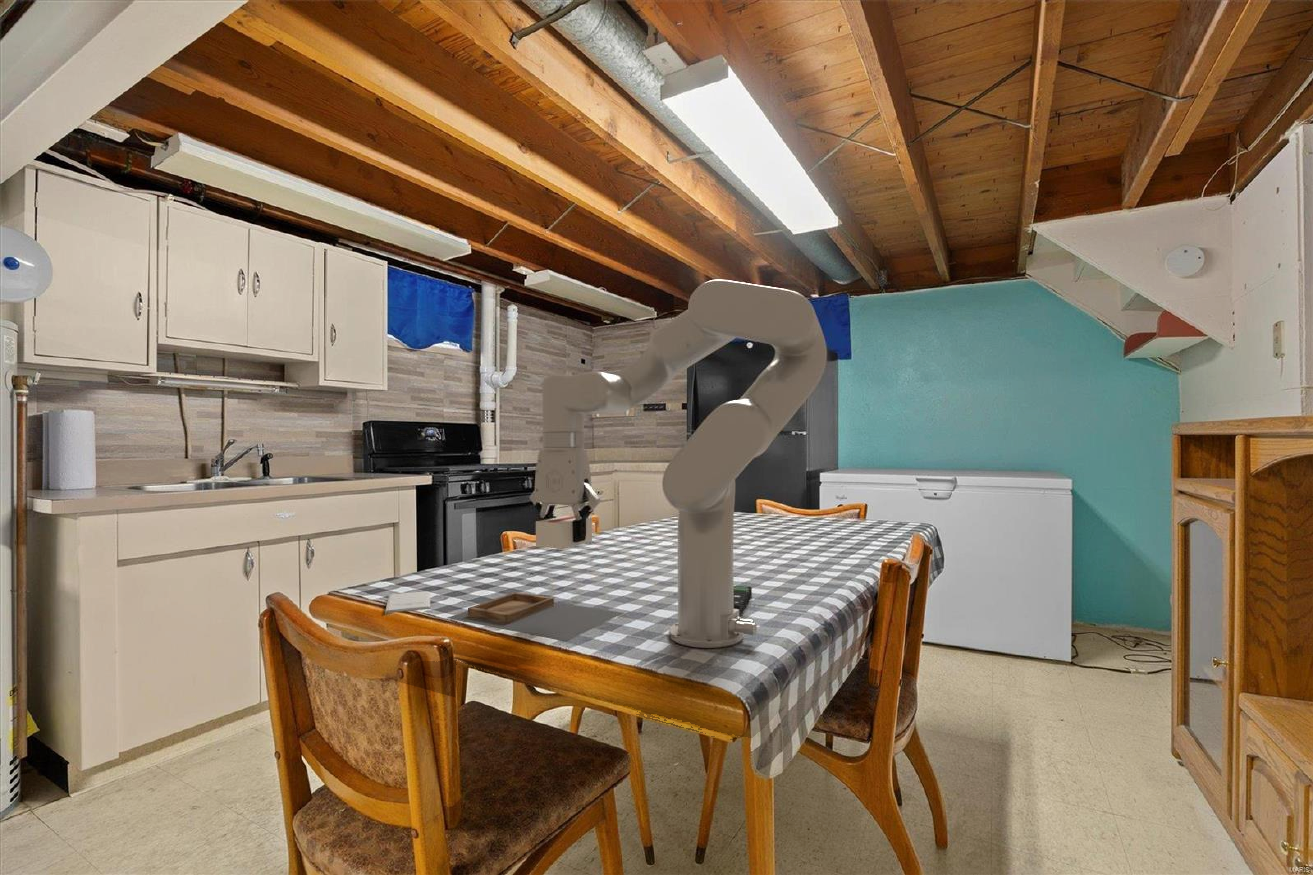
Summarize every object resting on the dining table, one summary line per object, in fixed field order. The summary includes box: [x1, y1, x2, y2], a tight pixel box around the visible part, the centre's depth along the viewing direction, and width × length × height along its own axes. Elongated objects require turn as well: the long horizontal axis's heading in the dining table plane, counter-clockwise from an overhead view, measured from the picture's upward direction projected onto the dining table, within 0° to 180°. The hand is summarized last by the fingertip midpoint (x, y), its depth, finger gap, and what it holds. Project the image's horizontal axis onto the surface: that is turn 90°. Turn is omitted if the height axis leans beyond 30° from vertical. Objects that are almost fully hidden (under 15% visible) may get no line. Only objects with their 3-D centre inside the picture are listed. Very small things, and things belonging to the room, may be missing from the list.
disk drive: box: [734, 585, 753, 617], centre depth 124 cm, size 10×3×15 cm
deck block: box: [535, 515, 593, 550], centre depth 112 cm, size 9×6×5 cm, turn 151°
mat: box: [447, 601, 624, 642], centre depth 115 cm, size 28×18×1 cm, turn 61°
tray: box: [467, 591, 555, 624], centre depth 118 cm, size 10×13×2 cm
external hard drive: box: [384, 590, 431, 616], centre depth 125 cm, size 2×8×12 cm
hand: (564, 538), depth 112 cm, fingers closed on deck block, 6 cm apart
